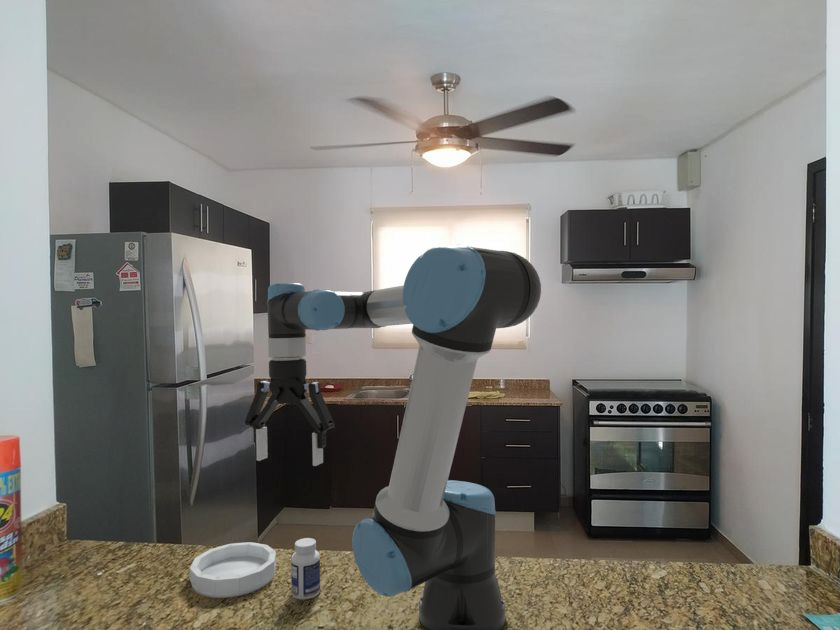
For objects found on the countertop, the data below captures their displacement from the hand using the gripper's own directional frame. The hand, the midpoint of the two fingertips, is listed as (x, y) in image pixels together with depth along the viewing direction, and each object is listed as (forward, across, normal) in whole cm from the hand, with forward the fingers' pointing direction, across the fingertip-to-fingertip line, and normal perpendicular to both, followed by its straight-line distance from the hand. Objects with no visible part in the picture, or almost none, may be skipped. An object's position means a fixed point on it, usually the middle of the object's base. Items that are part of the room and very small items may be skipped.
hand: (289, 461), depth 111 cm
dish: (+23, +10, +6) cm, 25 cm away
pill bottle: (+23, -7, +6) cm, 25 cm away
